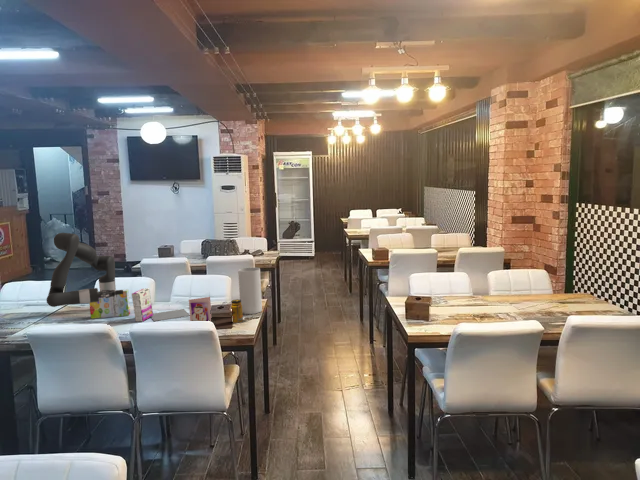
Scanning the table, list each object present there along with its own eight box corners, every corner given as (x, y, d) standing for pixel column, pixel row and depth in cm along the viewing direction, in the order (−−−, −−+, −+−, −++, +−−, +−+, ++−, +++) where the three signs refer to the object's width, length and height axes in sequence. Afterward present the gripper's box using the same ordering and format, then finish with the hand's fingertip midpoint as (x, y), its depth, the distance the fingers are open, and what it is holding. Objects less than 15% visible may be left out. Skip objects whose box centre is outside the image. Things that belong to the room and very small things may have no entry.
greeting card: (189, 327, 265) (188, 300, 264) (195, 323, 273) (193, 296, 271) (210, 328, 264) (208, 300, 262) (215, 323, 271) (213, 296, 269)
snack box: (130, 313, 300) (128, 288, 298) (128, 316, 294) (126, 290, 293) (93, 316, 296) (90, 291, 295) (90, 319, 291) (88, 293, 289)
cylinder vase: (240, 315, 287) (238, 272, 284) (240, 309, 299) (238, 268, 296) (262, 313, 289) (260, 270, 286) (261, 308, 301) (259, 267, 298)
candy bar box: (145, 315, 292) (141, 288, 290) (153, 315, 291) (149, 288, 288) (134, 321, 281) (131, 293, 279) (143, 321, 280) (139, 293, 278)
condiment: (228, 322, 273) (227, 300, 272) (240, 318, 280) (239, 297, 278) (237, 324, 269) (236, 302, 267) (249, 320, 275) (248, 299, 274)
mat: (154, 321, 280) (154, 320, 280) (149, 314, 295) (149, 314, 295) (190, 315, 289) (190, 315, 289) (183, 309, 304) (183, 308, 304)
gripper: (88, 291, 265) (123, 287, 273) (87, 287, 277) (121, 283, 285) (89, 305, 266) (124, 300, 274) (88, 300, 277) (122, 296, 285)
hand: (122, 291), depth 279 cm, fingers closed
